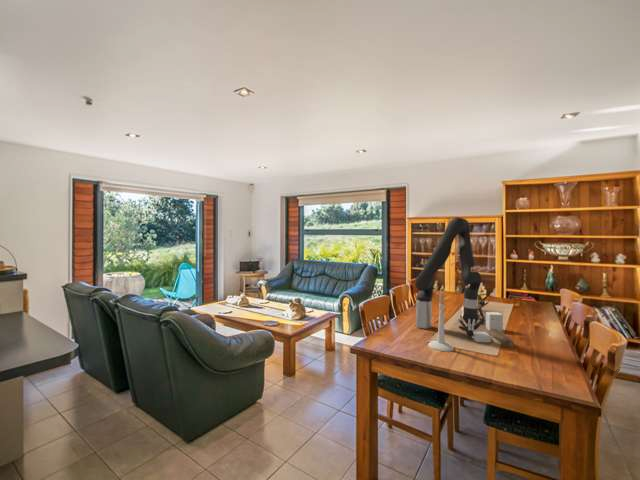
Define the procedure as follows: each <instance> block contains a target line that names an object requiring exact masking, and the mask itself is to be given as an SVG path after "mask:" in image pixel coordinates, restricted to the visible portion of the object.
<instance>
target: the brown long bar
mask: <svg viewBox="0 0 640 480" xmlns="http://www.w3.org/2000/svg"><path fill="white" fill-rule="evenodd" d="M489 335H490V336H491V338H494V339H495V340H496V342H498V343H500V344H501V345H502V346H504V347H505V348H514V340H513V339H512V338H510V337H509V336H507V335H506V334H504V333H503V331H499V330H498V329H490V331H489Z"/></svg>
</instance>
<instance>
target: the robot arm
mask: <svg viewBox="0 0 640 480" xmlns="http://www.w3.org/2000/svg"><path fill="white" fill-rule="evenodd" d="M470 232H471V230H470V223H469V221H468V220H467V219H465V218H462V217H459V216H458V217H457V216H454V217H453V218H451V219H450V220H449V222H447V225H446V228H445V230H444V233H442V236H441V238H440V239H439V241H438V242H437V244H436V246H435V248H434V249H433V251H432V253H431V254H430V257H429V258H428V260H427V262H426V263H425V265H424V268H423V269H422V270H421V271H420V273H419V275H418V276H417V277H416V278H415V280H414V286H415V288H416V289H417V290H418V293H417V295H416V305H415V306H416V309H415V320H414V321H415V322H414V323H415V327H416V328H418V329H425V330H427V329H431V328H432V298H433V296H434V295H433V294H434V280H433V277H434V276H435V274H436V273H437V272H438V271H439V270H440V269H441V268H442V266H444V264H445V263H446V262H447V260H448V259H449V256H450V255H451V252H452V247H453V242H454V240H455V239H456V237H457V236H458V240H459V251H458V252H459V253H458V254H459V258H460V263H461V271H460V272H461V273H460V278H461V280H462V282H463V283H464V285H465V284H466V285H469V286H468V287H466V288H464V291H463V293H464V294H463V295H464V297H463V304H462V305H463V306H462V307H463V311H462V312H463V313H462V317H461V318H459V319H458V322H459V323H460V324H461V326H462V327H463V328H464V329H465V330H466V335H467V336H468V337H469V338H471V337H472V336H473V331H477V329H479V327H481V326H482V325H483V321H482V320H480V319H479V300H478V299H479V297H478V296H479V291H480V287H481V284H482V276H481V273H479V272H478V271H472V268H473V267H475V265H476V263H475V258H474V253H473V251H472V250H473V249H472V244H471V233H470Z"/></svg>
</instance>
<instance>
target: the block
mask: <svg viewBox="0 0 640 480" xmlns="http://www.w3.org/2000/svg"><path fill="white" fill-rule="evenodd" d="M472 338H473V339H472ZM472 338H471V339H472V340H473V341H474V340H475V341H476V342H475V341H474V342H475V343H489V342H491V343H492V336H491V335H490V333H487V332H486V331H477V330H473V336H472Z"/></svg>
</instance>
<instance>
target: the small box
mask: <svg viewBox="0 0 640 480" xmlns="http://www.w3.org/2000/svg"><path fill="white" fill-rule="evenodd" d="M485 329H486V330H487V331H489V332H490V329H498V330H499V331H500V332H503V329H504V315H503V314H502V313H500V312H494V311H492V312H490V311H489V312H488V311H486V312H485Z"/></svg>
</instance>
